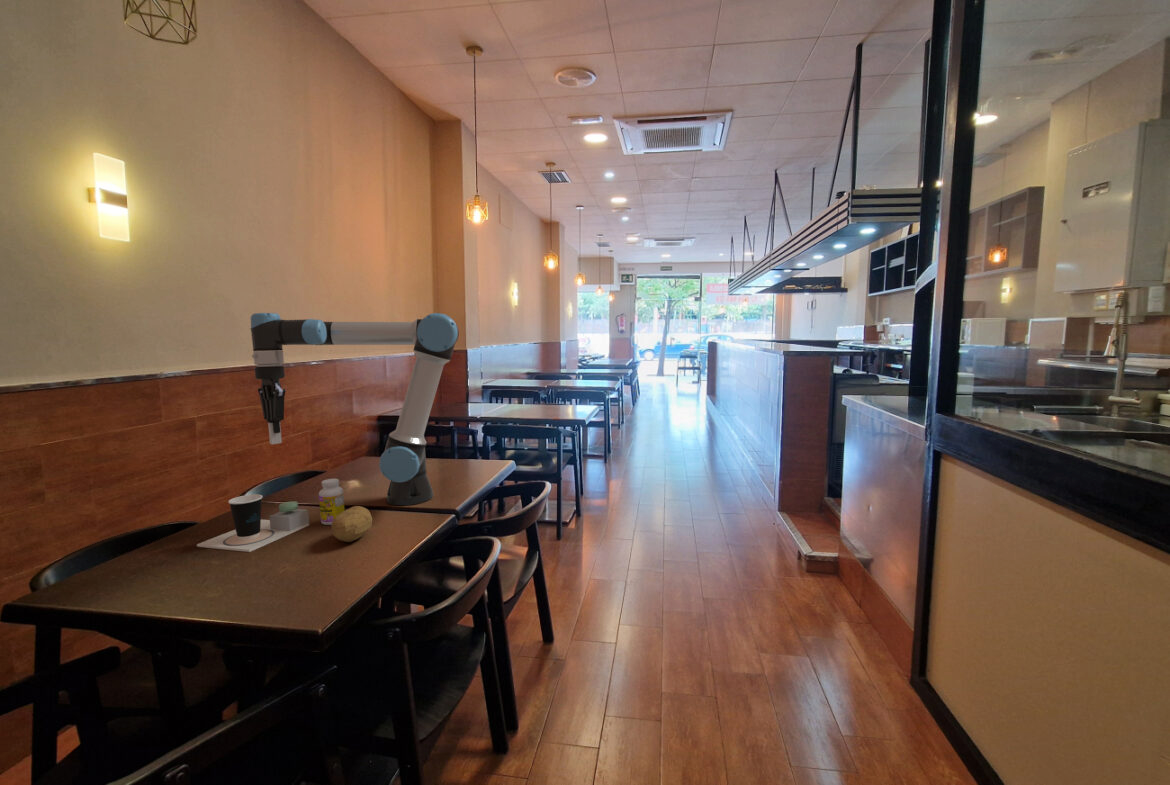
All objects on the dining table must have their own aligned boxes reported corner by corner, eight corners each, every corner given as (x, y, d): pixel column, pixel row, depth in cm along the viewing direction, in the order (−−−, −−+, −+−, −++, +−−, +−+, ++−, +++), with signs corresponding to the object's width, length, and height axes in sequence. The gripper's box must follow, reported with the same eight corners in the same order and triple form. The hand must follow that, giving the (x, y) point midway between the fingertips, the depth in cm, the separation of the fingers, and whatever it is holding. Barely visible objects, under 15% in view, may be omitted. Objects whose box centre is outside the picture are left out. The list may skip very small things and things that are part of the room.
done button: (303, 521, 151) (301, 501, 151) (290, 527, 147) (288, 506, 146) (290, 520, 152) (288, 500, 152) (276, 526, 148) (274, 505, 147)
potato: (322, 550, 132) (319, 520, 131) (345, 530, 146) (343, 503, 145) (359, 548, 132) (357, 519, 132) (379, 529, 146) (377, 502, 146)
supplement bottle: (315, 524, 152) (312, 482, 151) (334, 517, 158) (331, 476, 157) (332, 526, 150) (329, 484, 148) (350, 519, 156) (347, 478, 155)
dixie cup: (240, 533, 144) (237, 495, 143) (270, 530, 146) (267, 493, 145) (225, 543, 137) (222, 503, 136) (257, 541, 138) (254, 501, 137)
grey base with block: (310, 524, 152) (309, 509, 152) (249, 551, 132) (248, 534, 132) (262, 520, 157) (261, 506, 156) (196, 546, 137) (195, 530, 137)
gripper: (246, 366, 151) (252, 443, 154) (265, 366, 144) (272, 447, 146) (273, 364, 158) (279, 439, 160) (292, 364, 150) (299, 443, 152)
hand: (275, 443), depth 153 cm, fingers closed
